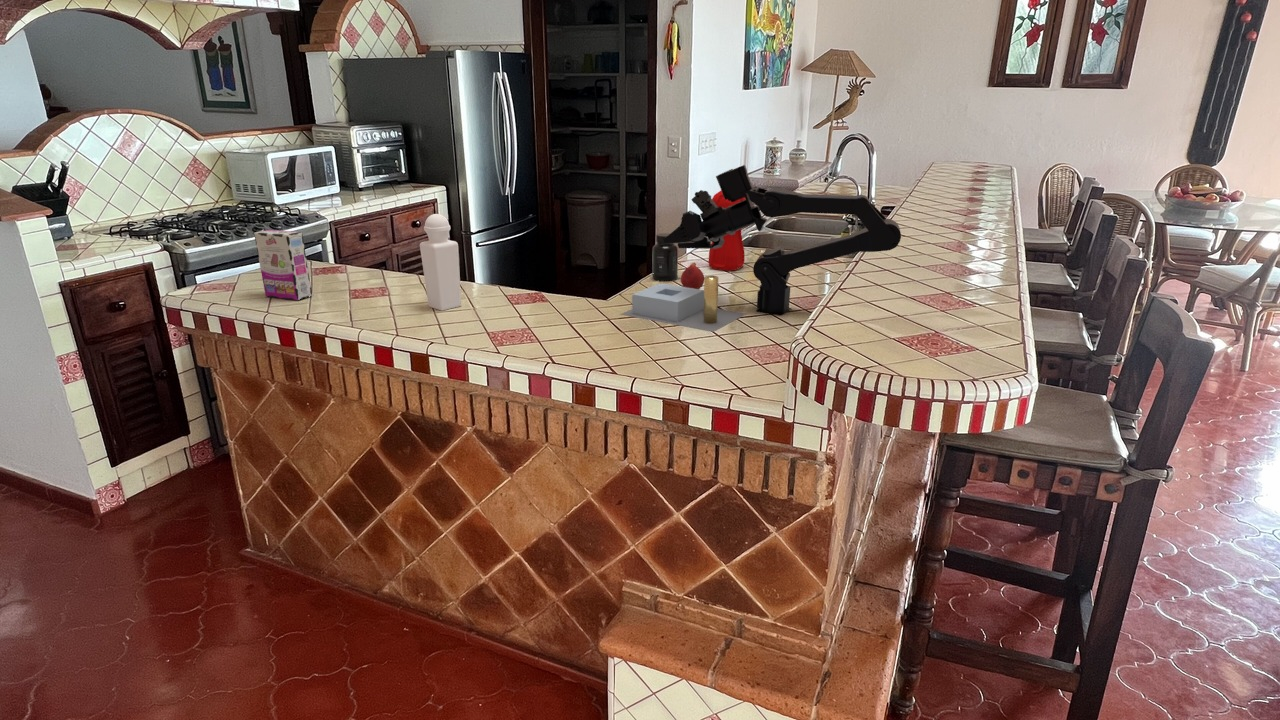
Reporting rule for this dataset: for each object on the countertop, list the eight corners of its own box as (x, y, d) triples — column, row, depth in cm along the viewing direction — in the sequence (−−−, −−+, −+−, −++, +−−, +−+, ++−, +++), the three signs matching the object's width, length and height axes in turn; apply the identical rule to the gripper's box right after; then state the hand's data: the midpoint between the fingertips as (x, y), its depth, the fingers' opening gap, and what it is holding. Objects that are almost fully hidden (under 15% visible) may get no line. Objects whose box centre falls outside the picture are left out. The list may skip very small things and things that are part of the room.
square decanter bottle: (464, 306, 178) (456, 213, 170) (440, 312, 173) (431, 217, 166) (449, 301, 182) (440, 210, 174) (425, 306, 177) (415, 214, 170)
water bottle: (739, 273, 207) (742, 182, 198) (704, 269, 213) (706, 179, 204) (753, 267, 214) (757, 178, 206) (719, 262, 220) (722, 176, 211)
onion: (695, 297, 184) (696, 266, 181) (676, 294, 187) (676, 263, 184) (708, 293, 188) (708, 261, 185) (689, 289, 191) (689, 258, 188)
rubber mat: (746, 315, 169) (746, 313, 169) (713, 334, 157) (713, 331, 156) (657, 300, 182) (657, 298, 181) (620, 316, 169) (620, 314, 169)
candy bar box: (313, 296, 187) (303, 231, 181) (298, 301, 182) (287, 235, 177) (280, 292, 191) (269, 228, 185) (264, 297, 186) (252, 231, 181)
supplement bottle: (647, 279, 201) (647, 235, 197) (661, 274, 207) (661, 231, 203) (668, 282, 198) (669, 238, 194) (682, 277, 203) (682, 234, 199)
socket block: (703, 308, 173) (704, 290, 171) (677, 321, 163) (677, 302, 162) (660, 301, 179) (660, 283, 177) (632, 313, 170) (632, 294, 168)
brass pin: (719, 321, 164) (720, 276, 160) (712, 324, 161) (714, 279, 158) (707, 318, 165) (708, 275, 162) (700, 322, 163) (702, 277, 159)
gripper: (733, 193, 177) (675, 217, 183) (709, 177, 159) (645, 205, 165) (747, 236, 175) (688, 260, 181) (724, 225, 158) (660, 251, 164)
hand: (671, 243), depth 173 cm, fingers open, 9 cm apart
